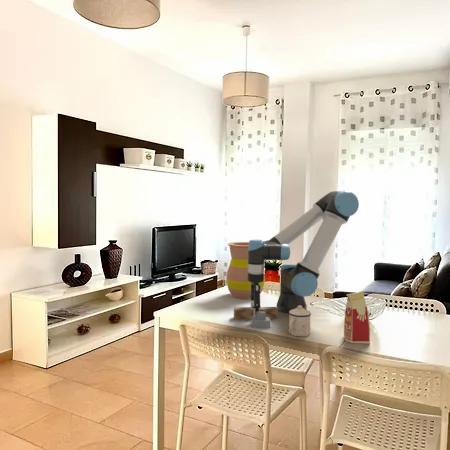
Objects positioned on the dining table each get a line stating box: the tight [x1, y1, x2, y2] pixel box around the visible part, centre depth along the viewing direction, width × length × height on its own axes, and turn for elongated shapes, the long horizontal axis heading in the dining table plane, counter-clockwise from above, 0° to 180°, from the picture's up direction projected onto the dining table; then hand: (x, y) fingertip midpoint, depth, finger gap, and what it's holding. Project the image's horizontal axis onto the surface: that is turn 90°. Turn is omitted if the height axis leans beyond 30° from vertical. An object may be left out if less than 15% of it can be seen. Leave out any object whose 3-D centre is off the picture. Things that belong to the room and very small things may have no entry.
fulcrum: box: [250, 311, 272, 329], centre depth 190 cm, size 8×6×6 cm
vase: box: [226, 241, 266, 300], centre depth 247 cm, size 22×22×30 cm
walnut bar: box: [233, 306, 279, 321], centre depth 202 cm, size 20×4×5 cm, turn 95°
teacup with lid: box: [288, 305, 312, 337], centre depth 178 cm, size 12×9×12 cm
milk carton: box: [343, 289, 371, 344], centre depth 172 cm, size 9×9×20 cm
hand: (254, 317), depth 202 cm, fingers open, 13 cm apart
